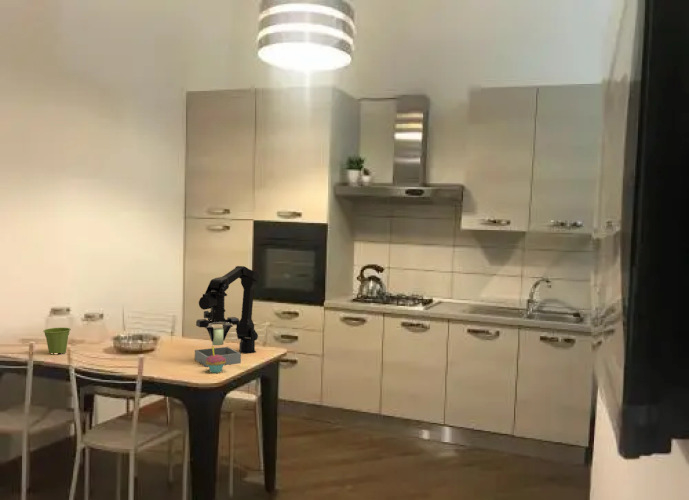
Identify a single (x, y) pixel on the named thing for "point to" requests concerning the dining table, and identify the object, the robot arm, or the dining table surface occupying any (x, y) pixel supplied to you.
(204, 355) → the serving tray
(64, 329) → the plant pot
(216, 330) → the green cylinder
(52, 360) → the dining table surface
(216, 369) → the cupcake
